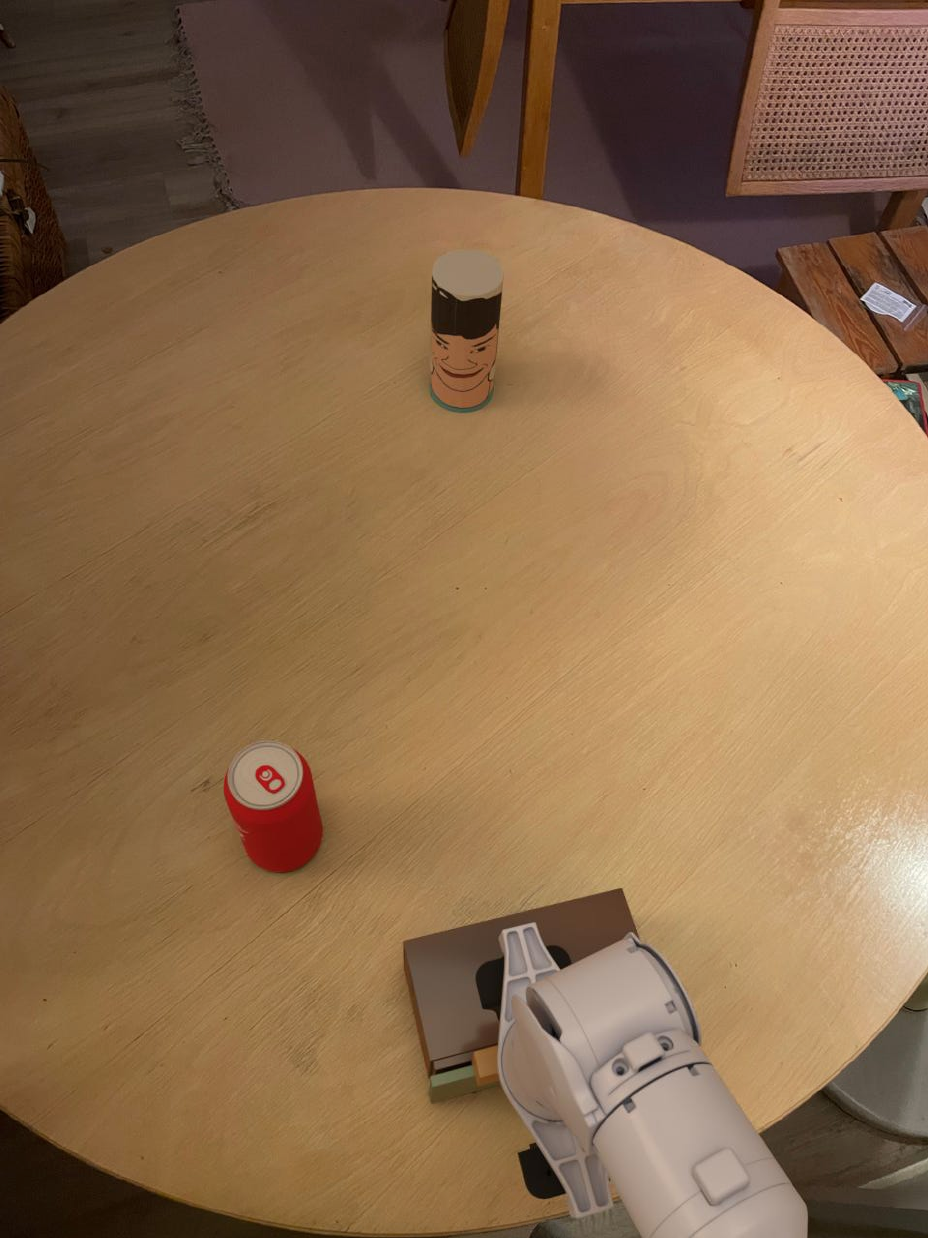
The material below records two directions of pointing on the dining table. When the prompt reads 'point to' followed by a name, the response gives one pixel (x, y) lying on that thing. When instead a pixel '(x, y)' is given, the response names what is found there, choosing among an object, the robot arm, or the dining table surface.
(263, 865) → the beverage can
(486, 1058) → the green drawer
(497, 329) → the tan and black cylinder
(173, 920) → the dining table surface
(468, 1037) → the cabinet
